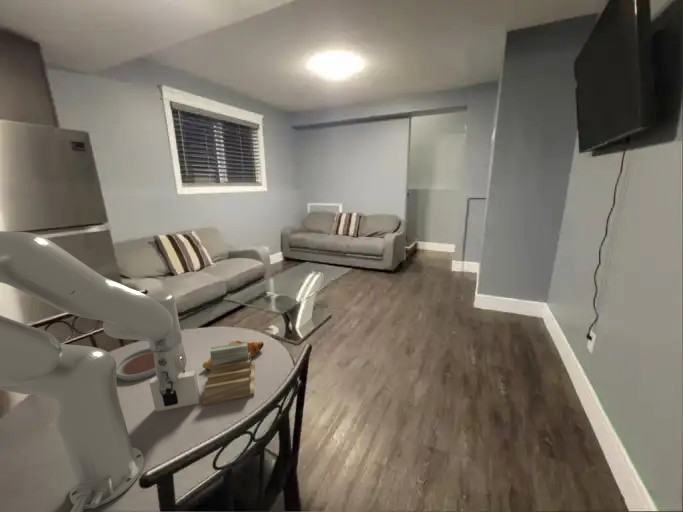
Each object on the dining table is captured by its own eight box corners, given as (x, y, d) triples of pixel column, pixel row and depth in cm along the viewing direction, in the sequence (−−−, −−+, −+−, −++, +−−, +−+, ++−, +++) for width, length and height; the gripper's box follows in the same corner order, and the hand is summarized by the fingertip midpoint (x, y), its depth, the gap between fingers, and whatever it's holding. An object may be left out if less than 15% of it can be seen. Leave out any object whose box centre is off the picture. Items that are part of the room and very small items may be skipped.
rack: (254, 395, 85) (250, 365, 82) (203, 405, 82) (198, 374, 79) (254, 364, 99) (252, 338, 96) (211, 372, 95) (207, 344, 93)
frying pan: (70, 372, 94) (167, 340, 110) (72, 379, 94) (169, 346, 111) (65, 402, 81) (176, 361, 98) (68, 410, 82) (177, 368, 98)
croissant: (207, 384, 95) (206, 372, 90) (199, 359, 101) (197, 346, 96) (267, 359, 107) (269, 347, 102) (257, 338, 113) (258, 326, 108)
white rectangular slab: (198, 403, 82) (193, 375, 80) (155, 411, 80) (149, 383, 77) (200, 397, 84) (195, 370, 82) (158, 406, 82) (152, 377, 79)
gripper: (171, 355, 69) (183, 412, 74) (188, 321, 85) (196, 370, 90) (136, 360, 67) (150, 419, 72) (160, 325, 83) (170, 375, 88)
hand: (176, 392), depth 81 cm, fingers open, 8 cm apart
